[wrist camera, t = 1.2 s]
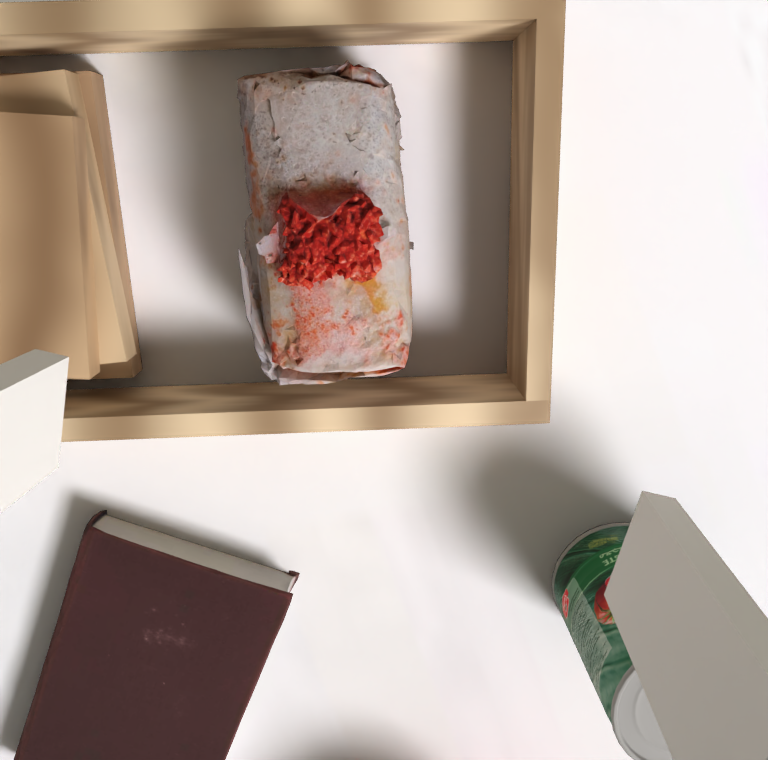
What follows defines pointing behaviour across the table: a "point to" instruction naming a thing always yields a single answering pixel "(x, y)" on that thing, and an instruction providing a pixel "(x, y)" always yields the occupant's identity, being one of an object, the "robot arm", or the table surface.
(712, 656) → the robot arm
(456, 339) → the table surface
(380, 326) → the food item
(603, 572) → the canned tomato
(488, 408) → the tray
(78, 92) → the offcut stack
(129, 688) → the book
